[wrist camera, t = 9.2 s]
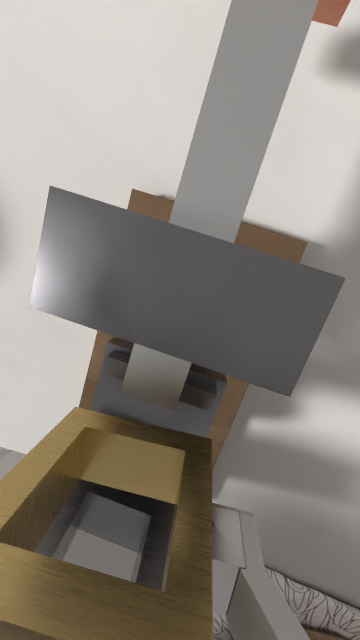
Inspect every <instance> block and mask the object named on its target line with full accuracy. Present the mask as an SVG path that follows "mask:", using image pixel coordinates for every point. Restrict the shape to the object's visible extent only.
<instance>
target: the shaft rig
mask: <svg viewBox="0 0 360 640" xmlns="http://www.w3.org/2000/svg"><path fill="white" fill-rule="evenodd" d="M173 205H174V201H171V200H167V199H164V198H161V197H158V196H154V195H151V194H148V193H145V192H141V191H138V190H135V189H132V192H131V196H130V200H129V204H128V209H127V210H126V209H123V208H120V207H117V206H113V205H110V204H107V203H104V202H101V201H98V200H94V199H91V198H88V197H85V196H82V195H78V194H75V193H72V192H69V191H66V190H63V189H59V188H56V187H53V186H50V188H49V194H48V199H47V205H46V211H45V217H44V223H43V229H42V234H41V240H40V246H39V252H38V258H37V264H36V269H35V275H34V281H33V287H32V293H31V299H30V304H29V307H32V308H35V309H37V310H40V311H43V312H46V313H49V314H52V315H55V316H58V317H61V318H63V319H66V320H69V321H72V322H75V323H78V324H81V325H84V326H87V327H89V328H92V329H95V330H98V331H97V335H96V340H95V344H94V348H93V352H92V356H91V360H90V364H89V368H88V372H87V376H86V380H85V385H84V389H83V393H82V397H81V401H80V405H79V408H83V409H87V410H91V411H95V412H100V413H104V414H108V415H112V416H117V417H121V418H125V419H129V420H134V421H138V422H142V423H146V424H151V425H155V426H159V427H163V428H168V429H172V430H176V431H180V432H185V433H189V434H193V435H197V436H202V437H206V438H210V439H212V469H213V467H214V465H215V462H216V460H217V458H218V455H219V453H220V450H221V448H222V446H223V443H224V441H225V438H226V436H227V434H228V431H229V429H230V426H231V424H232V422H233V419H234V417H235V414H236V412H237V410H238V407H239V405H240V402H241V400H242V398H243V395H244V393H245V390H246V388H247V386H248V383H251V384H254V385H257V386H260V387H263V388H266V389H269V390H271V391H274V392H277V393H280V394H283V395H286V396H289V397H290V395H291V393H292V391H293V389H294V387H295V385H296V383H297V380H298V378H299V376H300V374H301V372H302V370H303V368H304V366H305V363H306V361H307V359H308V357H309V355H310V353H311V351H312V348H313V346H314V344H315V342H316V340H317V338H318V336H319V334H320V331H321V329H322V327H323V325H324V323H325V321H326V319H327V316H328V314H329V312H330V310H331V308H332V306H333V304H334V301H335V299H336V297H337V295H338V293H339V291H340V289H341V287H342V284H343V282H344V280H345V278H343V277H340V276H337V275H333V274H330V273H327V272H324V271H321V270H317V269H314V268H311V267H308V266H305V265H301V264H299V261H300V259H301V256H302V254H303V252H304V249H305V247H306V244H307V242H304V241H300V240H297V239H294V238H291V237H287V236H284V235H281V234H278V233H274V232H271V231H268V230H265V229H261V228H258V227H255V226H252V225H248V224H245V223H242V222H241V223H240V226H239V229H238V232H237V235H236V238H235V241H234V243H231V242H228V241H225V240H222V239H219V238H215V237H212V236H209V235H206V234H203V233H200V232H196V231H193V230H190V229H187V228H184V227H180V226H177V225H174V224H171V223H169V219H170V216H171V212H172V209H173ZM134 343H136V344H139V345H141V346H144V347H147V348H150V349H153V350H156V351H159V352H162V353H165V354H167V355H170V356H173V357H176V358H179V359H182V360H185V361H188V362H191V366H190V369H189V372H188V375H187V378H186V381H185V383H184V386H183V389H182V392H181V395H180V398H179V401H178V403H177V406H176V409H175V411H172V410H170V409H167V408H164V407H161V406H158V405H156V404H153V403H150V402H147V401H145V400H142V399H139V398H136V397H133V396H131V395H128V394H125V393H122V392H121V388H122V385H123V381H124V378H125V374H126V371H127V367H128V364H129V360H130V356H131V353H132V349H133V346H134ZM174 506H175V504H173V503H169V502H165V501H161V500H158V499H154V498H150V497H146V496H142V495H139V494H135V493H131V492H127V491H124V490H120V489H116V488H112V487H109V486H105V485H101V484H97V483H94V482H90V481H86V480H82V479H80V480H79V482H78V484H77V485H76V487H75V488H74V490H73V491H72V493H71V495H70V496H69V498H68V499H67V501H66V502H65V504H64V506H63V507H62V509H61V510H60V512H59V513H58V515H57V517H56V518H55V520H54V521H53V523H52V524H51V526H50V528H49V529H48V531H47V532H46V534H45V535H44V537H43V539H42V540H41V542H40V543H39V545H38V546H37V548H36V550H35V551H34V553H38V554H41V555H44V556H47V557H51V558H54V559H57V560H61V561H62V559H63V557H64V555H65V553H66V551H67V549H68V547H69V545H70V543H71V541H72V539H73V537H74V535H75V534H76V532H77V530H78V529H80V530H83V531H85V532H88V533H91V534H93V535H96V536H98V537H101V538H103V539H106V540H108V541H111V542H113V543H116V544H118V545H121V546H123V547H126V548H128V549H131V550H133V551H136V552H138V554H137V558H136V562H135V566H134V570H133V574H132V578H131V582H133V583H137V584H140V585H143V586H147V587H150V588H153V589H157V590H160V591H161V589H162V583H163V576H164V570H165V564H166V557H167V551H168V545H169V538H170V532H171V525H172V519H173V513H174Z"/></svg>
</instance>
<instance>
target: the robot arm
mask: <svg viewBox="0 0 360 640" xmlns="http://www.w3.org/2000/svg"><path fill="white" fill-rule="evenodd" d="M25 456H26V454H23V453H20V452H16V451H12V450H9V449H5V448H2V447H0V481H1V480H2V479H3V478H4V477H5V476H6V475H7V474H8V473H9V472H10V471H11V470H12V469H13V468H14V467H15V466H16V465H17V464H18V463H19V462H20V461H21V460H22V459H23V458H24V457H25ZM212 612H215V613H218V614H221V615H223V616H226V620H227V623H228V626H229V628H230V631H231V634H232V637H233V639H234V640H310V638H309V637H308V635H307V633H306V632H305V630H304V629H303V627H302V625H301V624H300V622H299V621H298V619H297V617H296V616H295V614H294V613H293V611H292V610H291V608H290V606H289V605H288V603H287V602H286V600H285V598H284V597H283V595H282V594H281V592H280V590H279V589H278V587H277V586H276V584H275V582H274V581H273V579H272V578H271V577H269V576H266V573H265V568H264V562H263V557H262V552H261V546H260V541H259V535H258V530H257V525H256V519H255V516H254V514H253V513H250V512H246V511H242V510H237V509H235V508H231V507H227V506H223V505H219V504H215V503H212Z"/></svg>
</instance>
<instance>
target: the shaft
mask: <svg viewBox="0 0 360 640" xmlns="http://www.w3.org/2000/svg"><path fill="white" fill-rule="evenodd" d="M350 1H351V0H232V2H231V5H230V9H229V12H228V16H227V19H226V23H225V26H224V30H223V33H222V37H221V40H220V44H219V47H218V51H217V54H216V58H215V61H214V65H213V68H212V72H211V75H210V79H209V82H208V86H207V89H206V93H205V96H204V100H203V104H202V107H201V111H200V114H199V118H198V121H197V125H196V128H195V132H194V135H193V139H192V142H191V146H190V149H189V153H188V156H187V160H186V163H185V167H184V170H183V174H182V177H181V181H180V184H179V188H178V191H177V195H176V198H175V202H174V205H173V209H172V212H171V216H170V219H169V223H171V224H174V225H177V226H180V227H184V228H187V229H190V230H193V231H196V232H200V233H203V234H206V235H209V236H212V237H215V238H219V239H222V240H225V241H228V242H231V243H234V241H235V238H236V235H237V232H238V229H239V226H240V223H241V221H242V218H243V215H244V212H245V209H246V206H247V203H248V201H249V198H250V195H251V192H252V189H253V186H254V183H255V181H256V178H257V175H258V172H259V169H260V166H261V163H262V161H263V158H264V155H265V152H266V149H267V146H268V143H269V141H270V138H271V135H272V132H273V129H274V126H275V123H276V121H277V118H278V115H279V112H280V109H281V106H282V103H283V101H284V98H285V95H286V92H287V89H288V86H289V83H290V81H291V78H292V75H293V72H294V69H295V66H296V63H297V61H298V58H299V55H300V52H301V49H302V46H303V43H304V41H305V38H306V35H307V32H308V29H309V26H310V23H311V21H316V22H320V23H324V24H328V25H332V26H336V27H337V26H338V24H339V22H340V20H341V18H342V16H343V14H344V12H345V10H346V8H347V6H348V4H349V3H350ZM190 366H191V362H188V361H185V360H182V359H179V358H176V357H173V356H170V355H167V354H165V353H162V352H159V351H156V350H153V349H150V348H147V347H144V346H141V345H139V344H136V343H134V346H133V349H132V353H131V356H130V360H129V364H128V367H127V371H126V374H125V378H124V381H123V385H122V388H121V392H122V393H125V394H128V395H131V396H133V397H136V398H139V399H142V400H145V401H147V402H150V403H153V404H156V405H158V406H161V407H164V408H167V409H170V410H172V411H175V409H176V406H177V403H178V401H179V398H180V395H181V392H182V389H183V386H184V383H185V381H186V378H187V375H188V372H189V369H190Z"/></svg>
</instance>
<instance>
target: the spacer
mask: <svg viewBox="0 0 360 640" xmlns="http://www.w3.org/2000/svg"><path fill="white" fill-rule="evenodd" d="M80 479H82V480H86V481H90V482H94V483H97V484H101V485H105V486H109V487H112V488H116V489H120V490H124V491H127V492H131V493H135V494H139V495H142V496H146V497H150V498H154V499H158V500H161V501H165V502H169V503H173V504H175V506H174V513H173V519H172V525H171V532H170V538H169V545H168V551H167V557H166V564H165V570H164V576H163V583H162V589H161V591H160V590H157V589H153V588H150V587H147V586H143V585H140V584H137V583H133V582H130V581H127V580H123V579H120V578H117V577H114V576H110V575H107V574H104V573H100V572H97V571H94V570H90V569H87V568H84V567H81V566H77V565H74V564H71V563H67V562H64V561H61V560H57V559H54V558H51V557H47V556H44V555H41V554H38V553H34V551H35V550H36V548H37V546H38V545H39V543H40V542H41V540H42V539H43V537H44V535H45V534H46V532H47V531H48V529H49V528H50V526H51V524H52V523H53V521H54V520H55V518H56V517H57V515H58V513H59V512H60V510H61V509H62V507H63V506H64V504H65V502H66V501H67V499H68V498H69V496H70V495H71V493H72V491H73V490H74V488H75V487H76V485H77V484H78V482H79V480H80ZM0 640H213V612H212V439H210V438H206V437H202V436H197V435H193V434H189V433H185V432H180V431H176V430H172V429H168V428H163V427H159V426H155V425H151V424H146V423H142V422H138V421H134V420H129V419H125V418H121V417H117V416H112V415H108V414H104V413H100V412H95V411H91V410H87V409H83V408H78V407H75V408H74V409H73V410H72V411H71V412H70V413H69V414H68V415H67V416H66V417H65V418H64V419H63V420H62V421H61V422H60V423H59V424H58V425H57V426H56V427H54V428H53V429H52V430H51V431H50V432H49V433H48V434H47V435H46V436H45V437H44V438H43V439H42V440H41V441H40V442H39V443H38V444H37V445H36V446H35V447H34V448H33V449H32V450H31V451H30V452H29V453H28V454H27V455H26V456H25V457H24V458H23V459H22V460H21V461H20V462H19V463H18V464H17V465H16V466H15V467H14V468H13V469H12V470H11V471H10V472H9V473H8V474H7V475H6V476H5V477H4V478H3V479H2V480H1V481H0Z"/></svg>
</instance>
